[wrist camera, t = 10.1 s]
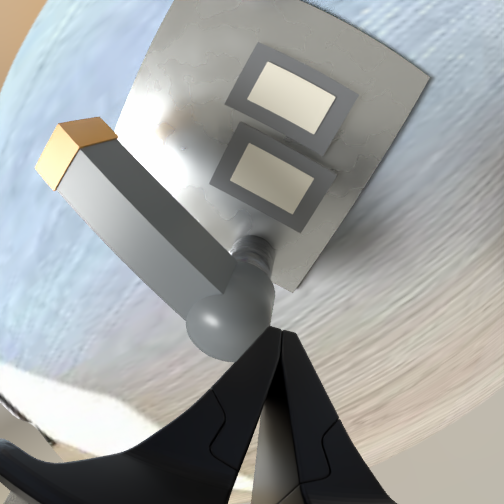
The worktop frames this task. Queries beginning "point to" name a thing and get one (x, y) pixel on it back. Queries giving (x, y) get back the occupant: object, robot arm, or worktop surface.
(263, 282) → the swing arm
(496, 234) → the worktop surface
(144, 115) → the plate
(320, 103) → the label tile
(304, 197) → the label tile
